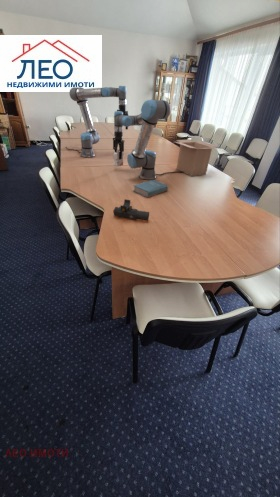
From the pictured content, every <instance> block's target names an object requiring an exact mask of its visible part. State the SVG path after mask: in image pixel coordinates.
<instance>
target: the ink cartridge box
mask: <svg viewBox="0 0 280 497" xmlns="http://www.w3.org/2000/svg"><path fill="white" fill-rule="evenodd" d="M119 152H120V150H119V149H117V152H116V153H115V152H113V166H114V167H121V166H124V152H122V159H119Z"/></svg>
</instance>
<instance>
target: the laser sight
mask: <svg viewBox="0 0 280 497" xmlns="http://www.w3.org/2000/svg"><path fill="white" fill-rule="evenodd" d="M112 213H113V216H114V217H117V218H121V219H126V220H133V221H137V220H139V221H145V222H149V218H150V211H145V210H139V209H137V208H133V206H132V205H131V199H124V201H123V204H122V205H120V206H115V207H114V208H113V211H112Z"/></svg>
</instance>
